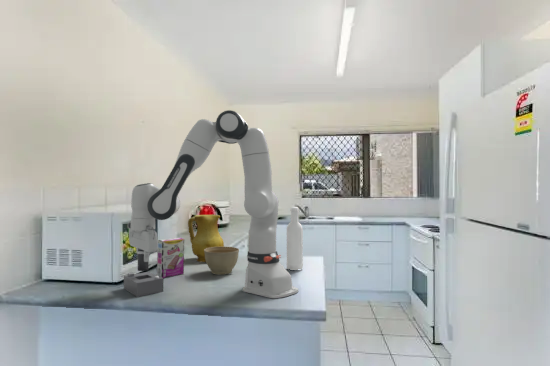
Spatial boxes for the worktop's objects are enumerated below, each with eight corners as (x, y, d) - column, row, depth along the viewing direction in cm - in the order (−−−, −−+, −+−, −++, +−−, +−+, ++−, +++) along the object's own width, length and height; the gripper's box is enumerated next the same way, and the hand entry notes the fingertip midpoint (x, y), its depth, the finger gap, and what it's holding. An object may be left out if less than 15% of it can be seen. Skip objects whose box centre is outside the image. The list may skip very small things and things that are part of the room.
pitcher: (204, 264, 182) (204, 215, 183) (184, 260, 195) (184, 214, 196) (230, 260, 194) (230, 214, 196) (210, 257, 207) (209, 214, 209)
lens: (150, 269, 138) (150, 248, 138) (139, 271, 136) (139, 250, 136) (146, 267, 141) (146, 247, 142) (135, 269, 139) (135, 248, 139)
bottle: (305, 268, 174) (305, 207, 174) (298, 271, 167) (298, 207, 167) (290, 266, 178) (290, 206, 178) (283, 269, 171) (283, 207, 171)
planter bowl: (213, 279, 155) (213, 253, 155) (198, 271, 168) (198, 248, 168) (245, 273, 164) (245, 249, 164) (228, 267, 177) (228, 245, 177)
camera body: (163, 291, 137) (163, 275, 137) (137, 296, 130) (137, 280, 130) (148, 283, 147) (148, 269, 147) (123, 288, 140) (123, 273, 140)
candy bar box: (162, 278, 155) (162, 241, 155) (156, 276, 159) (156, 239, 159) (184, 274, 163) (184, 238, 163) (178, 272, 167) (178, 237, 167)
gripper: (162, 226, 133) (162, 263, 133) (141, 222, 148) (141, 255, 148) (145, 228, 129) (145, 266, 129) (126, 223, 144) (125, 257, 144)
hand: (143, 260), depth 139 cm, fingers closed on lens, 4 cm apart
